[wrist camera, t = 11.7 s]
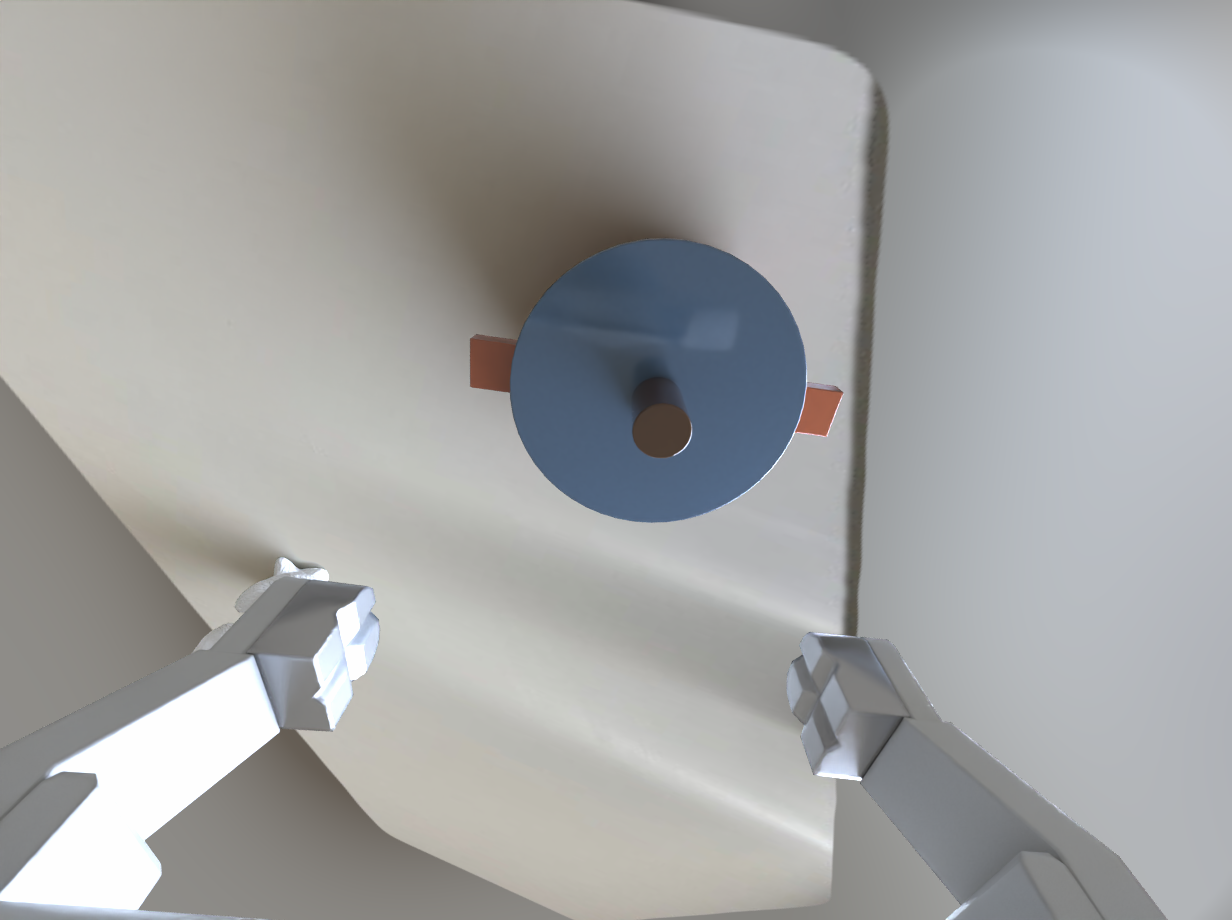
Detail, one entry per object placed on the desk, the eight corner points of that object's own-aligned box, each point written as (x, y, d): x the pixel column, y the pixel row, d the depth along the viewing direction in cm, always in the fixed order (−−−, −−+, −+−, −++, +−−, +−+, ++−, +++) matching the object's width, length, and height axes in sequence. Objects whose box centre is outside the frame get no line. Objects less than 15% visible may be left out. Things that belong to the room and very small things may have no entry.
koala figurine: (263, 605, 40) (134, 744, 30) (242, 542, 37) (88, 672, 27) (362, 612, 40) (269, 753, 30) (349, 550, 37) (239, 683, 27)
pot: (510, 216, 26) (464, 215, 19) (820, 265, 27) (895, 283, 20) (503, 421, 32) (466, 484, 24) (759, 456, 33) (799, 527, 25)
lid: (521, 213, 19) (493, 211, 15) (841, 264, 20) (899, 276, 16) (509, 493, 25) (487, 547, 21) (753, 524, 26) (777, 583, 22)
